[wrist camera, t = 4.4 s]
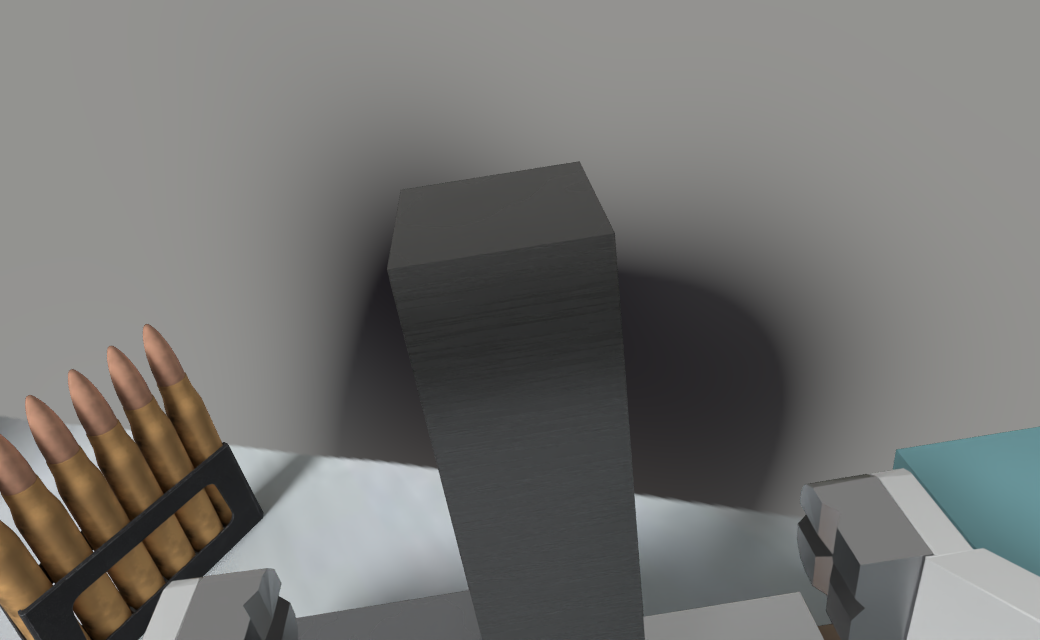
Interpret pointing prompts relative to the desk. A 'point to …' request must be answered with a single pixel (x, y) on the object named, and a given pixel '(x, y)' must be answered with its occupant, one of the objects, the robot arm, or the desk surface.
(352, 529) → the desk surface
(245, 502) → the ammunition clip
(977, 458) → the socket block
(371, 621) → the outer sleeve
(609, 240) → the dark grey upright post
